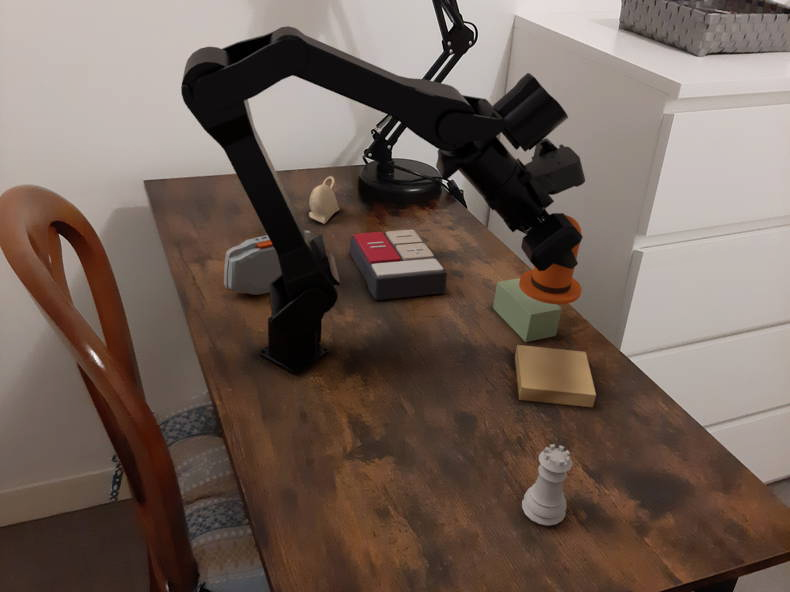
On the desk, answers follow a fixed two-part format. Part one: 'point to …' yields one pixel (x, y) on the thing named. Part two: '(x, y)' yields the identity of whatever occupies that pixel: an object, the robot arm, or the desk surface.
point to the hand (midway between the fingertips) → (566, 255)
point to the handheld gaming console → (252, 266)
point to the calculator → (397, 264)
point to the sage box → (525, 312)
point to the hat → (553, 281)
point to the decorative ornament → (323, 202)
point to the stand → (554, 376)
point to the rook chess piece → (548, 488)
